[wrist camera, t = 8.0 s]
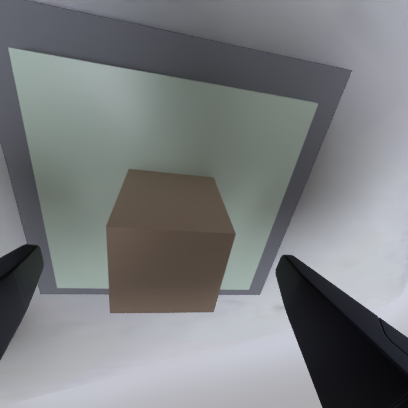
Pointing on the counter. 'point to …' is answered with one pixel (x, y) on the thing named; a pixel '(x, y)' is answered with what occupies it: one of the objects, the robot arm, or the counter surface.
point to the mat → (161, 64)
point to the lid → (155, 178)
